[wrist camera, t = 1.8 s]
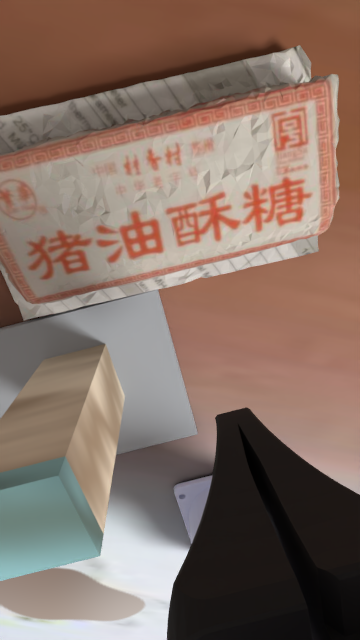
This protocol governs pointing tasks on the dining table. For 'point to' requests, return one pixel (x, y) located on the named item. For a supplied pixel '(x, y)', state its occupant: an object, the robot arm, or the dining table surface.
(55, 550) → the maple block
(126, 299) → the grey mat
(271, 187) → the packaged product
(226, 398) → the dining table surface
